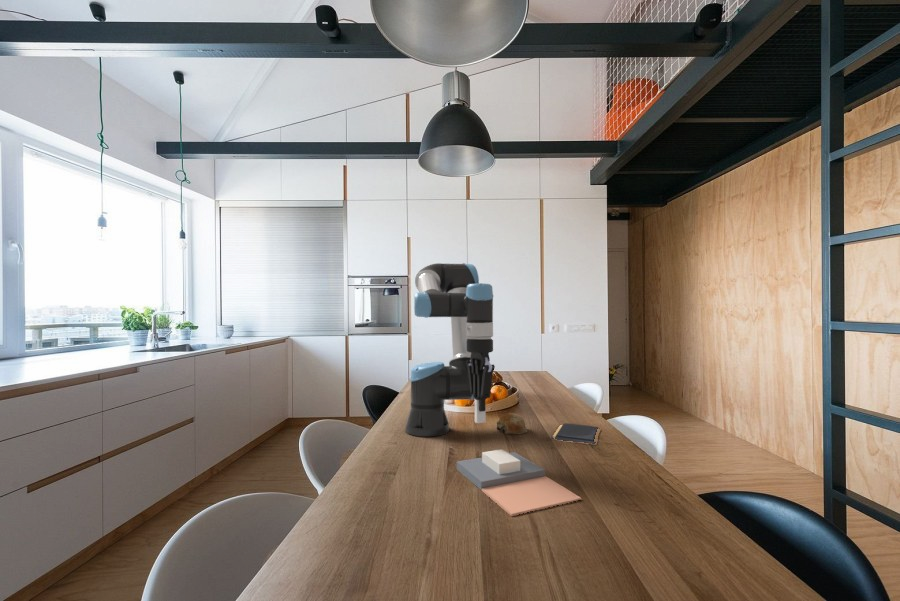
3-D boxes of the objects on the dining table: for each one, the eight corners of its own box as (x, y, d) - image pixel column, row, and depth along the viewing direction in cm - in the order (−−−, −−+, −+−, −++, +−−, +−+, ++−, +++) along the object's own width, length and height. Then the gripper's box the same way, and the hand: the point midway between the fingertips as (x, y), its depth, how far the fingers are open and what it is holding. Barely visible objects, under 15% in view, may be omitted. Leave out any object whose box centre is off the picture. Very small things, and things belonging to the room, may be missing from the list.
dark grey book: (596, 441, 127) (547, 435, 134) (596, 448, 127) (547, 441, 134) (603, 425, 145) (559, 420, 152) (603, 431, 145) (559, 425, 152)
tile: (482, 462, 108) (482, 452, 109) (501, 458, 111) (501, 449, 111) (499, 474, 100) (499, 464, 100) (520, 470, 103) (520, 460, 103)
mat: (481, 490, 96) (481, 488, 96) (545, 478, 103) (545, 476, 103) (511, 516, 84) (511, 513, 84) (581, 500, 91) (581, 498, 91)
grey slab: (456, 469, 109) (456, 461, 109) (514, 459, 116) (514, 452, 116) (481, 490, 96) (481, 481, 96) (545, 477, 103) (545, 469, 103)
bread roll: (523, 446, 138) (533, 424, 138) (495, 433, 139) (505, 411, 139) (518, 437, 148) (528, 417, 148) (492, 424, 148) (502, 404, 149)
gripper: (458, 337, 121) (458, 418, 120) (478, 339, 109) (478, 429, 108) (480, 336, 124) (481, 415, 123) (503, 338, 112) (503, 426, 111)
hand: (480, 422), depth 116 cm, fingers closed
